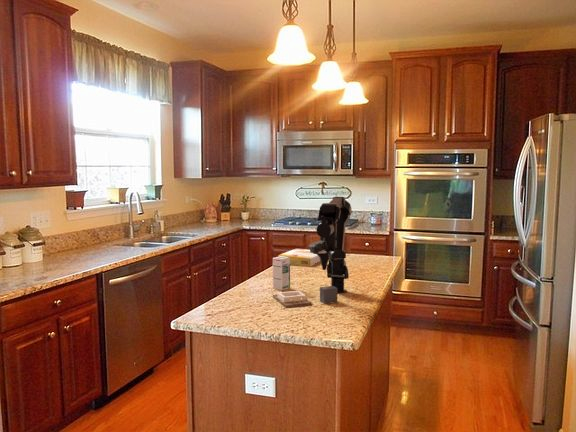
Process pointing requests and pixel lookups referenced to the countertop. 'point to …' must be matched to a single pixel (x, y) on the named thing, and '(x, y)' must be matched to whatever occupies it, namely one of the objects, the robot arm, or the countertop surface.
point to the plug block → (328, 294)
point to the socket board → (292, 299)
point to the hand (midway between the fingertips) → (328, 272)
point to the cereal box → (301, 257)
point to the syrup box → (281, 273)
